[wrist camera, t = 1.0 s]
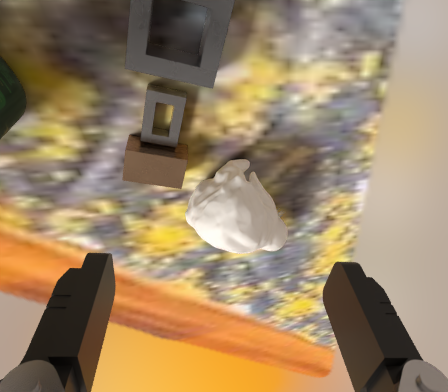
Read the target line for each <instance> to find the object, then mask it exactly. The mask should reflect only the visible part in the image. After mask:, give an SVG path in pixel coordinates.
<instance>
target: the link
mask: <svg viewBox="0 0 448 392" xmlns="http://www.w3.org/2000/svg"><path fill="white" fill-rule="evenodd" d="M183 1H186V2H190V3H194V4H197V5H201V6H204V7H208V9H207V14H206V19H205V23H204V28H203V33H202V38H201V43H200V47H199V52H198V55H197V54H193V53H189V52H185V51H181V50H177V49H173V48H169V47H165V46H161V45H157V44H153V43H149V38H150V30H151V21H152V13H153V5H154V0H131V2H130V14H129V26H128V38H127V50H126V62H125V69H128V70H132V71H137V72H141V73H146V74H150V75H155V76H159V77H164V78H168V79H173V80H177V81H181V82H186V83H190V84H195V85H199V86H204V87H208V88H213V86H214V82H215V78H216V74H217V70H218V66H219V62H220V58H221V54H222V50H223V46H224V42H225V38H226V34H227V30H228V26H229V21H230V17H231V13H232V9H233V5H234V1H235V0H183Z"/></svg>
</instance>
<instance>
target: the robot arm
mask: <svg viewBox="0 0 448 392" xmlns="http://www.w3.org/2000/svg"><path fill="white" fill-rule="evenodd" d="M114 296H115V276H114V268H113V259H112V254H111V253H88V254H87V255H86V257H85V260H84V262H83V265H82V268H70V269H69V270H68V271H67V272H66V273H65V274H64V275H63V276H62V277H61V278H60V279H59V280H58V281H57V284H56V286H55V288H54V290H53V293H52V297H51V298H50V300H49V302H48V304H47V306H46V307H47V308H46V310H45V311H44V313H43V315H42V318H41V320H40V323H39V325H38V327H37V329H36V331H35V334H34V336H33V338H32V341H31V343H30V345H29V348H28V350H27V352H26V354H25V356H24V358H23V360H22V361H21V363H20V364H19V365H18V366H17V367H16V368H14V369H13V370H12V371H10V372H9V373H8V374H7V375H6V376H5V377H4V378H3V379H2V380H0V392H91V388H92V385H93V381H94V377H95V373H96V369H97V365H98V361H99V357H100V353H101V349H102V345H103V341H104V337H105V333H106V329H107V325H108V321H109V317H110V313H111V309H112V305H113V301H114ZM323 302H324V306H325V309H326V312H327V314H328V317H329V320H330V323H331V326H332V329H333V331H334V334H335V337H336V340H337V343H338V345H339V348H340V351H341V354H342V357H343V359H344V362H345V365H346V368H347V371H348V373H349V376H350V379H351V382H352V385H353V387H354V390H355V392H448V379H447V378H446V377H445V375H444V374H443V373H442V372H441V371H440V370H438V369H437V368H436V367H434V366H433V365H431V364H429V363H427V362H425V361H423V359H422V358H421V356H420V354H419V352H418V351H417V349H416V347H415V345H414V343H413V342H412V340H411V338H410V336H409V334H408V332H407V331H406V329H405V327H404V325H403V324H402V322H401V320H400V318H399V316H397V313H396V311H395V309H394V307H393V306H392V305H391V302H390V300H389V298H388V296H387V294H386V293H385V291H384V289H383V288H382V287H381V286H380V285H379V284H378V283H377V282H376V281H375V280H374V279H373V278H370V277H366V275H365V273H364V271H363V269H362V267H361V266H360V264H358V263H356V262H336V263H335V264H334V266H333V268H332V270H331V273H330V275H329V277H328V279H327V282H326V284H325V286H324V289H323Z"/></svg>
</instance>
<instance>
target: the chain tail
mask: <svg viewBox="0 0 448 392" xmlns="http://www.w3.org/2000/svg"><path fill="white" fill-rule="evenodd" d="M186 98H187V97H186V92H183V91H178V90H174V89H169V88H165V87H160V86H155V85H151V84H148V86H147V92H146V100H145V108H144V116H143V124H142V132H141V137H138V136H133V135H129V138H128V142H127V146H126V150H125V160H124V170H123V180H124V181H131V182H138V183H145V184H151V185H158V186H165V187H172V188H179V189H181V188H182V184H183V179H184V175H185V171H186V166H187V162H188V150H187V145H183V144H178V138H179V133H180V128H181V123H182V118H183V113H184V108H185V103H186ZM156 102H159V103H164V104H168V105H173V111H172V117H171V122H170V128H169V130H164V129H159V128H153V120H154V113H155V107H156Z"/></svg>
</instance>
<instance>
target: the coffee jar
mask: <svg viewBox="0 0 448 392" xmlns="http://www.w3.org/2000/svg"><path fill="white" fill-rule="evenodd" d="M25 108H26V95H25V92H24V89H23V87H22V85H21V83H20V81H19V80H18V78H17V77H16V75H15V74H14V72H13V71H12V70H11V68H10V67H9V66H8V65H7V63H6V62H5V61H4V60H3V58H2V57H1V56H0V139H1V138H2V137H3V136H4V135H5V134H6V133H7V132H8V131H9V130H10V129H11V127H12V126H13V125H14V124H15V123H16V122H17V121H18V120H19V119H20V118H21V116H22V115H23V113H24V111H25Z"/></svg>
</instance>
